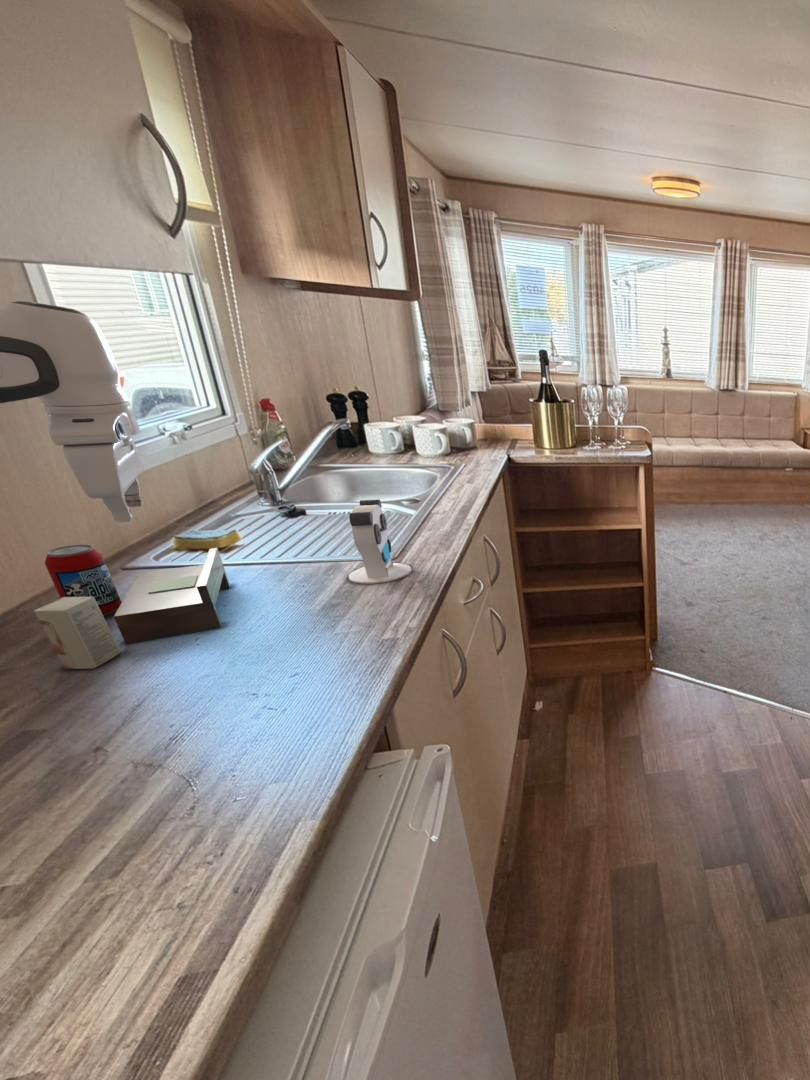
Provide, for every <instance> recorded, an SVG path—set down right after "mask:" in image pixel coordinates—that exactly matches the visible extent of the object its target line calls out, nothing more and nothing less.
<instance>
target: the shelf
mask: <svg viewBox="0 0 810 1080" xmlns="http://www.w3.org/2000/svg"><path fill="white" fill-rule="evenodd" d="M230 587H231V584H230V581H229V577H228V574H227V572H226V569H225V566H224V563H223V560H222V557H221V554H220V552H219V549H218V547H214V548H213V547H211V548H209V549H208V552H207V555H206V558H205V561H204V564H198V565H197V564H196V565H190V566H182V567H174V568H167V569H159V570H150V571H142V572H138V573H137V574H136V575H135V578H134V580H133V581H132V583H131V584H130V586H129V588H128V590H127V592H126V594H125V596H124V598H123V599H122V600H121V602H122V603H121V605H120V606H119V608H118V609H117V610H116V611H115V612H114V614H113V615H114V616H113V619H114V621H115V623H116V626H117V628H118V631H119V633H120V635H121V637H122V639H123V641H124V644H125V645H127V644H133V643H138V642H145V641H151V640H156V639H162V638H163V639H164V638H167V637H169V638H170V637H173V636H179V635H185V634H192V633H197V632H203V631H210V630H214V629H221V628H222V625H223V623H222V621H221V617H220V615H219V613H218V610H217V607H216V605H217V602H218V601H217V600H218V597H219V594H220V590H225V589H230Z"/></svg>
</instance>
